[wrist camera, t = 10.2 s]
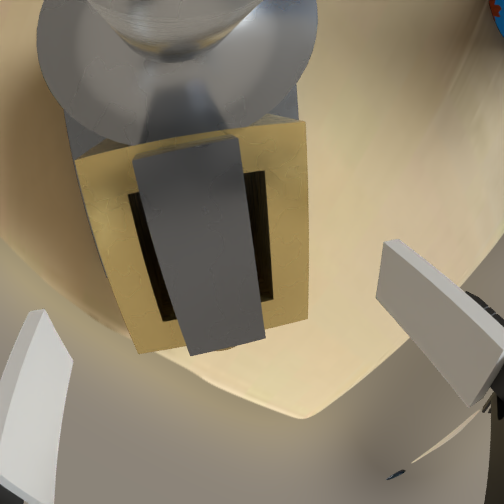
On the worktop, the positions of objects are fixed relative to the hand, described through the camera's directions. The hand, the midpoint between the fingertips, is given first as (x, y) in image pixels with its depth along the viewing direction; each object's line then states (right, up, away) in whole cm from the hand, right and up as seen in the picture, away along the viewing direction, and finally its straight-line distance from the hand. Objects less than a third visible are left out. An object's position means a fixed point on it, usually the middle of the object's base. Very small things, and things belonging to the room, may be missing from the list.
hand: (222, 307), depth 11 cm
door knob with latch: (-4, +11, +10) cm, 15 cm away
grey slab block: (-3, +6, +10) cm, 12 cm away
